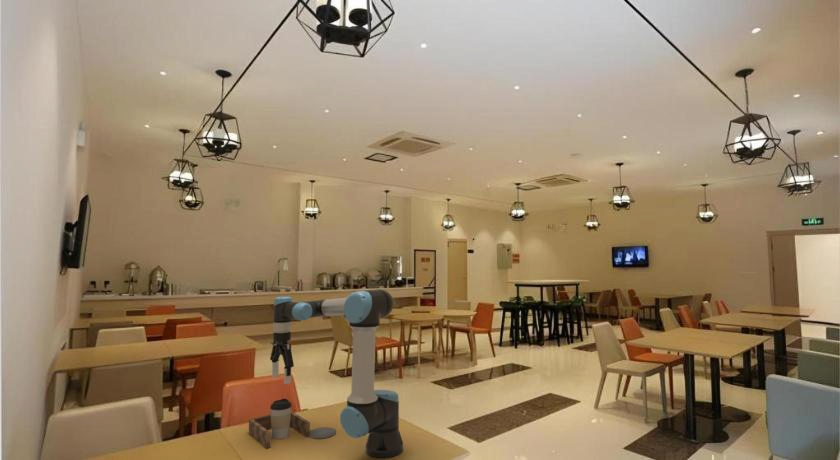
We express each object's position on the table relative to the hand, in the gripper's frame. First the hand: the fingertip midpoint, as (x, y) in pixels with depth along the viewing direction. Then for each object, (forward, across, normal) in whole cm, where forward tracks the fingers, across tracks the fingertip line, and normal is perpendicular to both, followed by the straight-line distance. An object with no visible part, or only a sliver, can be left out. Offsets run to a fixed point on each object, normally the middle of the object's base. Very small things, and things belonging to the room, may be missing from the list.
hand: (281, 380), depth 189 cm
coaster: (+24, -10, -15) cm, 30 cm away
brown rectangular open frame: (+24, +1, 0) cm, 24 cm away
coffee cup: (+24, 0, 0) cm, 24 cm away
